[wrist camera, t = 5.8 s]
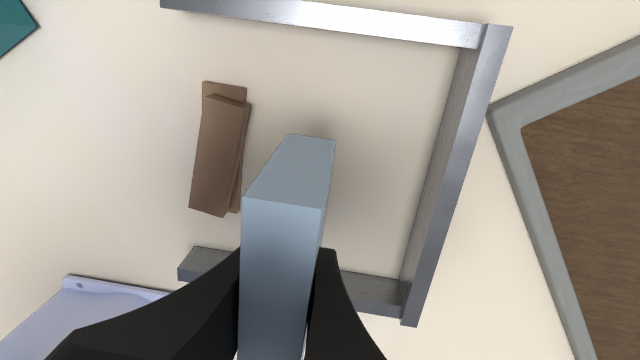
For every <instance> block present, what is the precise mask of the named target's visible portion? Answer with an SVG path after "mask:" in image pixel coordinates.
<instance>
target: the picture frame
mask: <svg viewBox="0 0 640 360" xmlns="http://www.w3.org/2000/svg"><path fill="white" fill-rule="evenodd" d="M485 116H486V119H487V122H488V125H489V128H490V130H491V133H492V136H493V138H494V141H495V144H496V146H497V149H498V152H499V154H500V157H501V160H502V163H503V165H504V168H505V171H506V173H507V176H508V179H509V181H510V184H511V187H512V190H513V192H514V195H515V198H516V200H517V203H518V206H519V208H520V211H521V214H522V217H523V219H524V222H525V225H526V227H527V230H528V233H529V235H530V238H531V241H532V244H533V246H534V249H535V252H536V254H537V257H538V260H539V262H540V265H541V268H542V271H543V273H544V276H545V279H546V281H547V284H548V287H549V289H550V292H551V295H552V298H553V300H554V303H555V306H556V308H557V311H558V314H559V316H560V319H561V322H562V325H563V327H564V330H565V333H566V335H567V338H568V341H569V343H570V346H571V349H572V352H573V354H574V357H575V360H640V36H637V37H635V38H633V39H631V40H629V41H627V42H624V43H622V44H620V45H618V46H616V47H614V48H611V49H609V50H607V51H605V52H603V53H600V54H598V55H596V56H594V57H592V58H590V59H587V60H585V61H583V62H581V63H579V64H577V65H574V66H572V67H570V68H568V69H566V70H564V71H561V72H559V73H557V74H555V75H553V76H550V77H548V78H546V79H544V80H542V81H540V82H537V83H535V84H533V85H531V86H529V87H527V88H524V89H522V90H520V91H518V92H516V93H513V94H511V95H509V96H507V97H505V98H503V99H500V100H498V101H496V102H494V103H492V104H490V105H488V108H487V111H486V114H485Z"/></svg>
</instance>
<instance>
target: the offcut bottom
mask: <svg viewBox="0 0 640 360" xmlns="http://www.w3.org/2000/svg"><path fill="white" fill-rule="evenodd" d="M213 93H215V94H218V95H221V96H224V97H227V98H230V99H234V100H237V101H240V102H243V103H246V95H247V88H244V87H239V86H233V85H227V84H221V83H216V82H210V81H204V82H202V110H203V103H204V96H207V95H210V94H213ZM243 144H244V141H243ZM242 161H243V146H242V151H241V156H240V161H239V165H238V170H237V175H236V180H235V185H234V190H233V195H232V199H231V204H230V209H229V210H228V212H231V213H236V214H237V213H238V211H239V210H240V194H241V177H242Z"/></svg>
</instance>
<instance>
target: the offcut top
mask: <svg viewBox="0 0 640 360" xmlns="http://www.w3.org/2000/svg"><path fill="white" fill-rule="evenodd" d="M250 107H251V105H249V104H246V103H243V102H240V101H237V100H234V99H230V98H227V97H224V96H221V95H218V94H215V93H213V94H210V95H207V96H204V103H203V110H202V117H201V124H200V130H199V137H198V144H197V151H196V158H195V165H194V171H193V178H192V185H191V192H190V199H189V206H188V207H189V208H192V209H195V210H198V211H202V212H205V213H208V214H211V215H214V216H218V217H221V218H223V217H224V216H225V214H226V213H227V212H228V210H229V209H230V204H231V199H232V195H233V190H234V185H235V180H236V175H237V170H238V165H239V161H240V156H241V151H242V146H243V141H244V136H245V131H246V126H247V122H248V117H249V112H250Z"/></svg>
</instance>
